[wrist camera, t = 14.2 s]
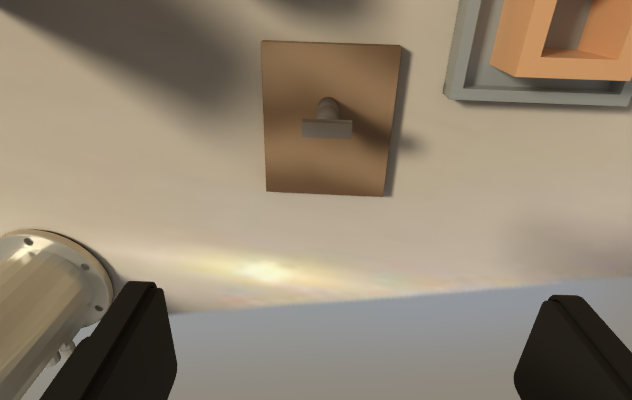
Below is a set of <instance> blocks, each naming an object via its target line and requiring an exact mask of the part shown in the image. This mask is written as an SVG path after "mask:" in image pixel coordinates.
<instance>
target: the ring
mask: <svg viewBox="0 0 632 400" xmlns="http://www.w3.org/2000/svg"><path fill="white" fill-rule="evenodd" d="M556 3H557V0H504V4H503V8H502V13H501V17H500V21H499V26H498V30H497V34H496V38H495V43H494V47H493V51H492V55H491V60H490V65H492V66H494V67H496V68H498V69H500V70H502V71H504V72H506V73H508V74H510V75H512V76H514V77H531V78H558V79H586V80H613V81H630V80H631V77H632V0H593V3H592V6H591V9H590V12H589V15H588V18H587V21H586V24H585V27H584V30H583V33H582V36H581V39H580V42H579V45H578V48H577V50H575V49H546V48H543V47H544V43H545V40H546V37H547V33H548V30H549V26H550V23H551V20H552V16H553V13H554V9H555V6H556Z"/></svg>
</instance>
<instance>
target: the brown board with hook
mask: <svg viewBox="0 0 632 400" xmlns="http://www.w3.org/2000/svg"><path fill="white" fill-rule="evenodd" d="M401 50H402V47H401V46H400V45H381V44H353V43H325V42H297V41H269V40H263V41H261V61H262V87H263V113H264V139H265V165H266V191H269V192H291V193H313V194H335V195H357V196H379V197H383V191H384V184H385V176H386V168H387V160H388V152H389V144H390V136H391V129H392V121H393V113H394V105H395V97H396V89H397V82H398V74H399V66H400V58H401Z"/></svg>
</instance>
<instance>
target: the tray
mask: <svg viewBox="0 0 632 400" xmlns="http://www.w3.org/2000/svg"><path fill="white" fill-rule="evenodd" d="M592 3H593V0H557V3H556V6H555V9H554V13H553V16H552V20H551V23H550V26H549V30H548V33H547V37H546V40H545V43H544V47H543V48H546V49H575V50H577V48H578V45H579V42H580V39H581V36H582V33H583V30H584V27H585V24H586V21H587V18H588V15H589V12H590V9H591V6H592ZM503 4H504V0H460V1H459V7H458V12H457V17H456V23H455V28H454V34H453V39H452V44H451V50H450V55H449V61H448V66H447V71H446V77H445V82H444V88H443V94H444V95H445V96H446V97H447V98H448V99H449V100H475V101H500V102H526V103H552V104H577V105H603V106H628V104H629V101H630V99H631V96H632V77H631V80H630V81H613V80H586V79H558V78H531V77H514V76H512V75H510V74H508V73H506V72H504V71H502V70H500V69H498V68H496V67H494V66H492V65H490V60H491V55H492V51H493V47H494V43H495V38H496V34H497V30H498V26H499V21H500V17H501V13H502V8H503Z"/></svg>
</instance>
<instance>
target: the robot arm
mask: <svg viewBox="0 0 632 400" xmlns="http://www.w3.org/2000/svg"><path fill="white" fill-rule="evenodd" d="M112 299H113V287H112V284H111V280H110V278H109V276H108V274H107V272H106V270H105V269H104V268H103V266H102V265H101V264H100V262H99V261H98V260H97V259H96V258H95V257H94V256H93V255H92V254H91V253H90V252H88V251H87V250H85V249H84V248H83V247H81V246H80V245H78V244H77V243H75V242H73V241H71V240H69V239H67V238H65V237H62V236H59V235H57V234H54V233H50V232H45V231H40V230H18V231H14V232H11V233H7V234H6V235H4V236H2V237H0V400H20V399H21V398H22V397H23V395H24V394H25V393H26V392H27V390H28V389H29V388H30V386H31V385H32V384H33V382H34V381H35V380H36V378H37V377H38V376H39V375H40V373H41V372H42V371H43V369H44V368H47V367H52V366H54V365H56V364H57V363H58V362H59V361H60V359H61V355H60V353H59V349H60V350H61V353H62V355H63V357H64V359H67V361H66V362H65V364H64V365H63V367H62V368H61V370H60V371H59V372H58V374H57V375H56V377H55V378H54V379H53V381H52V382H51V384H50V385H49V387H48V388H47V389H46V391H45V392H44V394H43V395H42V397H41V398H40V399H39V400H167V399H168V396H169V393H170V391H171V388H172V386H173V383H174V380H175V377H176V373H177V360H176V355H175V350H174V344H173V339H172V334H171V328H170V324H169V318H168V312H167V307H166V302H165V297H164V292H163V289H162V288H157V286H156V284H155V283H154V282H142V281H129V282H127V283H126V285H125V286H124V287H123V289H122V290H121V292H120V293H119V295H118V296H117V298H116V299H115V301H114V302H113V303H112ZM111 303H112V305H111ZM110 305H111V306H110ZM109 307H110V308H109ZM107 310H108V311H107ZM105 313H106V314H105ZM104 314H105V315H104ZM103 316H104V317H103ZM102 317H103V318H102ZM101 318H102V320H101V321H100V323H99V324H98V326H97V327H96V328H95V330H94V332H93V333H92V334H91V336H90V337H86V338H85V339H83V340H82V341H81V342H80V343H79V344H78V345H77V347H76V346H75V344H74V342H73V341H72V340H73V338H74V337H75V336H76V334H77V333H78V332H79V330H80V329H81V328H83V327H87V326H90V325H92V324H94V323H96V322H97V321H99V320H100V319H101ZM514 384H515V388H516V390H517V392H518V394H519V396H520V398H521V400H632V353H631V351H630V350H629V349H628V348H627V347H626V346H625V345H624V344H623V343H622V341H621V340H620V339H619V338H618V337H617V336H616V335H615V334H614V332H612V330H611V329H610V328H609V327H608V326H607V325H606V323H605V322H604V321H603V320H602V319H601V318H600V317H599V316H598V314H597V313H596V312H595V311H594V310H593V309H592V308H591V307H590V305H589V304H588V303H587V302H586V301H585V300H584V299H583V298H582V297H579V296H575V295H552V296H551V297H550V298H549V299H548V301H544V302H543V304H542V306H541V308H540V311H539V313H538V315H537V318H536V320H535V323H534V325H533V328H532V330H531V333H530V335H529V338H528V340H527V343H526V345H525V348H524V350H523V353H522V355H521V358H520V360H519V363H518V365H517V368H516V370H515V373H514Z"/></svg>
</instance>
